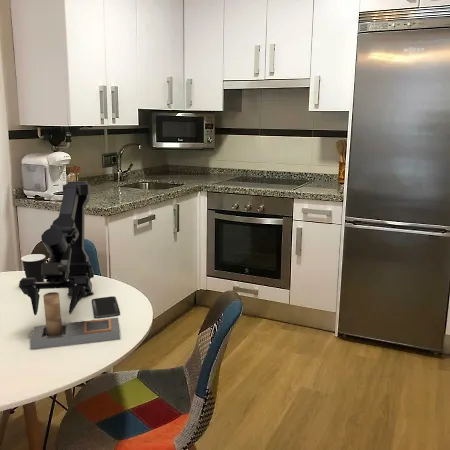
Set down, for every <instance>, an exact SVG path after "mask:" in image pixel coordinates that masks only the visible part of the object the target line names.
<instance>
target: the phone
mask: <svg viewBox="0 0 450 450" xmlns="http://www.w3.org/2000/svg"><path fill="white" fill-rule="evenodd" d="M117 300H118V299H117V297H116V296H105V297H104V296H103V297H96V298H91V305H92V312H93V318H94V320H99V319H108V318H116V317H119V316H121V311H120V306H119V304H118V301H117Z"/></svg>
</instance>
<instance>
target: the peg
mask: <svg viewBox="0 0 450 450" xmlns="http://www.w3.org/2000/svg"><path fill="white" fill-rule="evenodd" d="M42 297H43V306H44V307H43V308H44V318H45V325H46V329H47V336H56V335H64V334H63V333H62V323H63V322H62V311H61V302H60V301H61V300H60V299H61V298H60V293H59V292H55V291H53V292H51V291H50V292H46V293H44V294H43V296H42ZM47 336H46V337H47Z"/></svg>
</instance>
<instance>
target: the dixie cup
mask: <svg viewBox="0 0 450 450" xmlns="http://www.w3.org/2000/svg"><path fill="white" fill-rule="evenodd" d="M45 259H46V255H45V254H42V253H41V254H40V253H39V254H38V253H37V254H35V253H34V254H33V253H32V254H27V255H23V256H21V258H20V260H21V261H22V265H23V270H24V274H25V278H36V280H37V281H38V282H45V279H44V278H43V277H44V275H41V271H42V263H45Z"/></svg>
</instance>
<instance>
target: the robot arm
mask: <svg viewBox="0 0 450 450" xmlns="http://www.w3.org/2000/svg"><path fill="white" fill-rule="evenodd" d="M91 195H92V185H91V183H90V184H88V181H86V180H85V181H84V180H82V181H81V180H80V181H79V180H78V181H68V182H67V183H65V184H62V199H61V204H60V209H59V213H58V217H56V219H54V220H53V221H52V223H51V224H50V227H49V228H48V229H46V230H45V231H44V232H43V233H42V234H41V238H40V239H41V242H42V244H43V245H44V247H45V250H46V252H47V253H48V254H49V261H47V262H44V263H42V271H41V275H44V277H43V278H44V280H45V281H44V282H38V281H37V280H36V278H26V277H22V278H20V280H19V282H18V283H19V284H18V288H19V289H20V291H21V292H22V293H23V295H26V296H28V298H30V301H31V305H32V306H31V307H32V312H33V315H34V316H37V315H38V312H39V311H38V310H39V303H40V294H39V293H40V290H49V289H50V290H51V289H67V292H68V293H67V296H69V297H70V302H69V307H68V314H69V315H71V314H72V313H73V312H74V310H75V308H76V307H77V305H78V303H79V302H80V301H81V299H82V298H86V297H89V296H92V295H94V292H93V291H92V290H93V283H92V281H91V279H93V278H94V277H95V275H94V274H95V272H94V269H93V266H92V263H91V262H90V257H89V255H88V254H87V252H86V250H85V209H86V206H87V205H88V204H89V201H90V197H91Z"/></svg>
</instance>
